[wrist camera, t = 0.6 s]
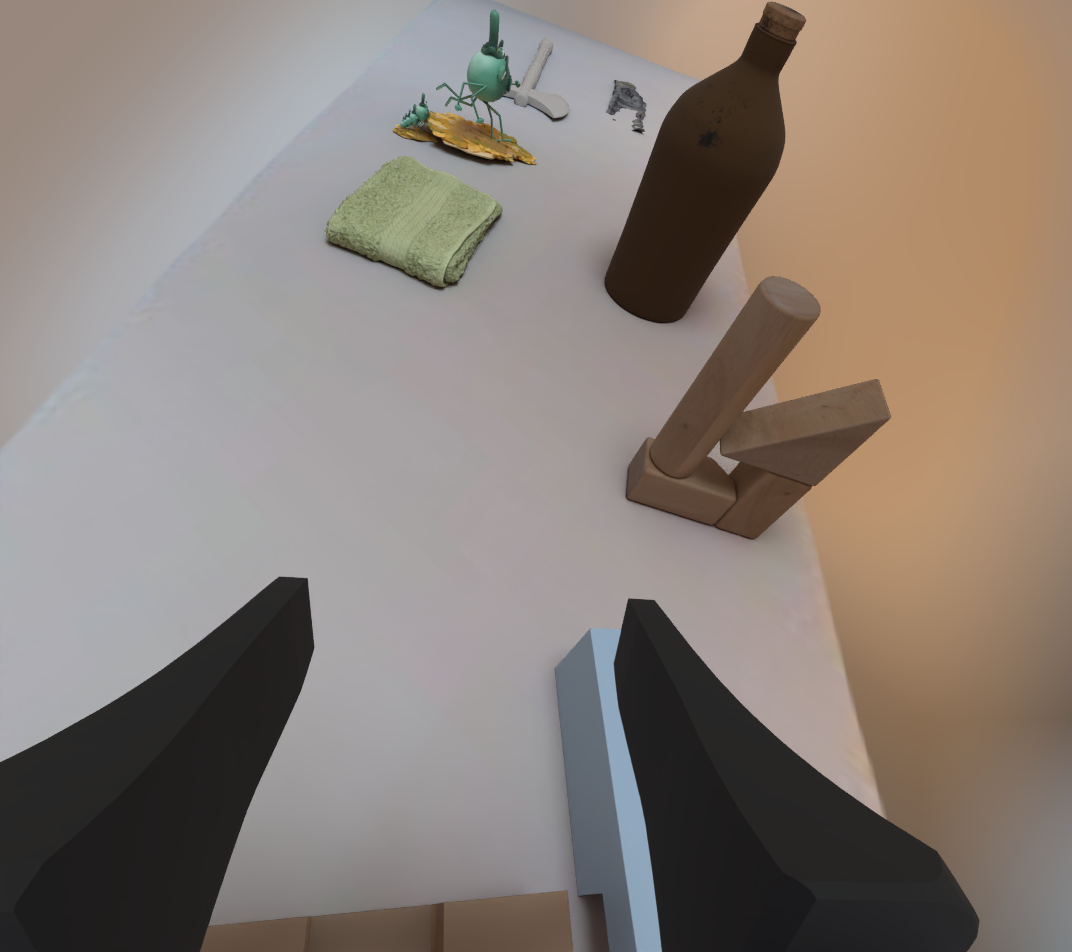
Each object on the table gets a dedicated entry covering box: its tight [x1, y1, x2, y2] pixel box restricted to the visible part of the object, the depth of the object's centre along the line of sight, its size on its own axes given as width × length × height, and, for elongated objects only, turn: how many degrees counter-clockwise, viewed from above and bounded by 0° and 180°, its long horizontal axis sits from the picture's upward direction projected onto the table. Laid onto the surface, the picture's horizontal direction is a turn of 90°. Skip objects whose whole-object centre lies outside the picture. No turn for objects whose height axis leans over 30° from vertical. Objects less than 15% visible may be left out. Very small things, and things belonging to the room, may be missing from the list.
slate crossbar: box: [555, 629, 662, 952], centre depth 26 cm, size 18×3×6 cm, turn 5°
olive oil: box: [605, 2, 806, 322], centre depth 51 cm, size 11×11×25 cm
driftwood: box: [606, 80, 646, 132], centre depth 95 cm, size 21×7×2 cm, turn 169°
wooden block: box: [627, 276, 891, 539], centre depth 37 cm, size 4×11×18 cm, turn 80°
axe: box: [503, 38, 569, 118], centre depth 90 cm, size 30×14×2 cm, turn 171°
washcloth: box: [324, 156, 503, 287], centre depth 56 cm, size 13×18×3 cm
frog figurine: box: [393, 10, 537, 164], centre depth 66 cm, size 10×18×15 cm, turn 93°
